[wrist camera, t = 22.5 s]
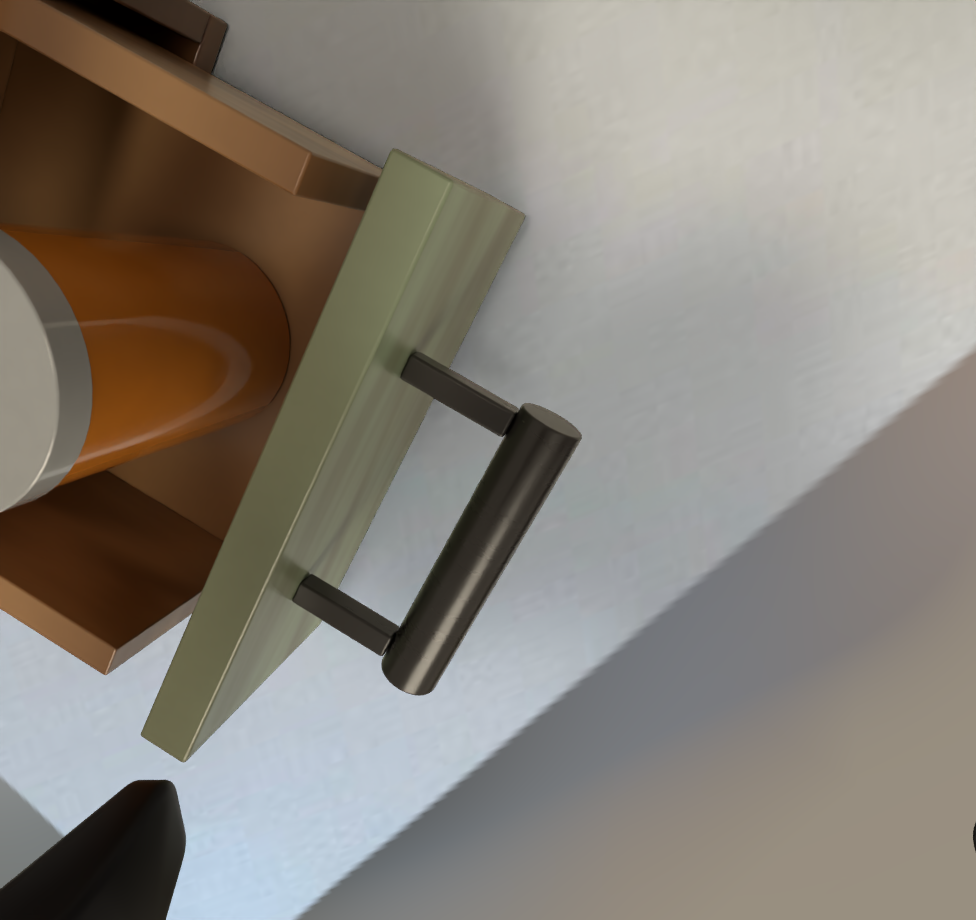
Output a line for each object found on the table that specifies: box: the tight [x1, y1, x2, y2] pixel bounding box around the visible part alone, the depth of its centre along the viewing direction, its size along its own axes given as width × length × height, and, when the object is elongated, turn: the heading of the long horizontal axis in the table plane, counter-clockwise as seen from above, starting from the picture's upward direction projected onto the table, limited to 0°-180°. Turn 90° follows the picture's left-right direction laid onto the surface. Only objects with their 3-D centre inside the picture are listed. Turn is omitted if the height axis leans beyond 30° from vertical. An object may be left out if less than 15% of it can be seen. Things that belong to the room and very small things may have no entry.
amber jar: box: [0, 222, 290, 513], centre depth 16 cm, size 5×5×8 cm
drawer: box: [0, 0, 582, 762], centre depth 17 cm, size 18×13×7 cm
